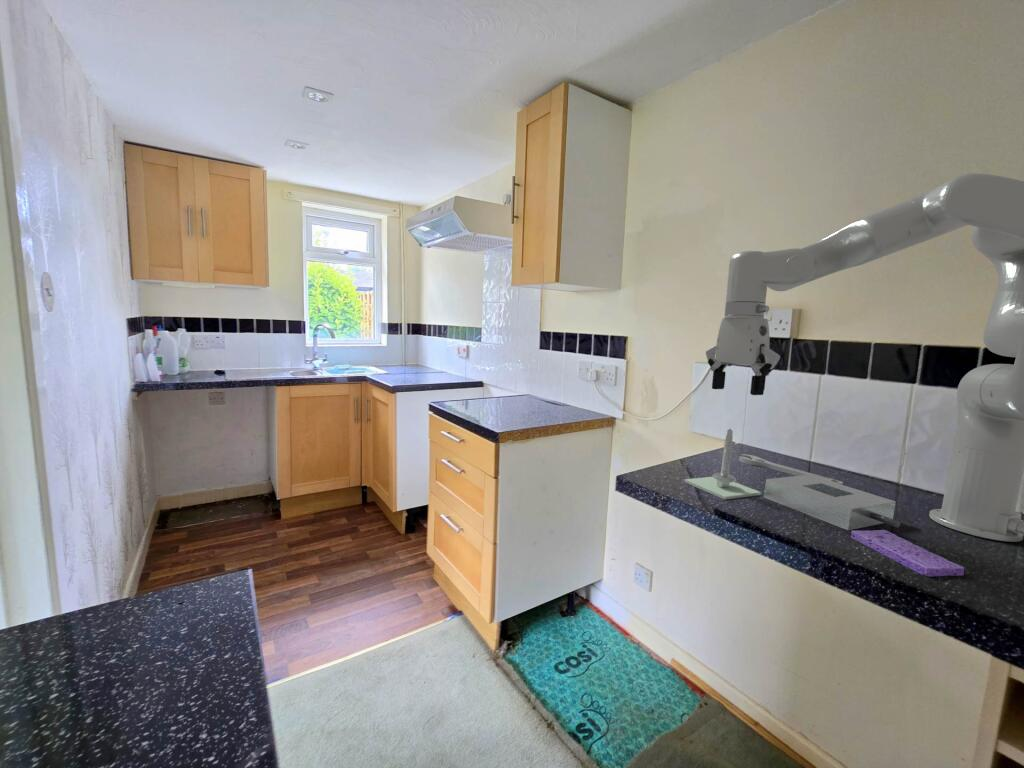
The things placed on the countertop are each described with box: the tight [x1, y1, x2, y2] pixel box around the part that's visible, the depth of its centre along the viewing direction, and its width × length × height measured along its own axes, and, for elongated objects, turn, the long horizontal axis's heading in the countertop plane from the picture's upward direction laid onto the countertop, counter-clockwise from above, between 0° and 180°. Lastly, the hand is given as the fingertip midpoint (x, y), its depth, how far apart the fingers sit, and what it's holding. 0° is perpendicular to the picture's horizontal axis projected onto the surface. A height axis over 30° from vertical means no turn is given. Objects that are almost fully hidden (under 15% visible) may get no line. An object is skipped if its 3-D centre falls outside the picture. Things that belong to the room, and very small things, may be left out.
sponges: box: [850, 529, 965, 578], centre depth 72 cm, size 7×13×2 cm, turn 8°
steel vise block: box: [763, 475, 901, 531], centre depth 89 cm, size 20×14×4 cm
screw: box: [711, 428, 737, 488], centre depth 98 cm, size 13×5×5 cm
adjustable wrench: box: [738, 453, 844, 485], centre depth 116 cm, size 25×6×2 cm, turn 30°
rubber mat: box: [683, 476, 762, 500], centre depth 99 cm, size 11×11×1 cm
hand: (736, 391), depth 97 cm, fingers open, 9 cm apart
